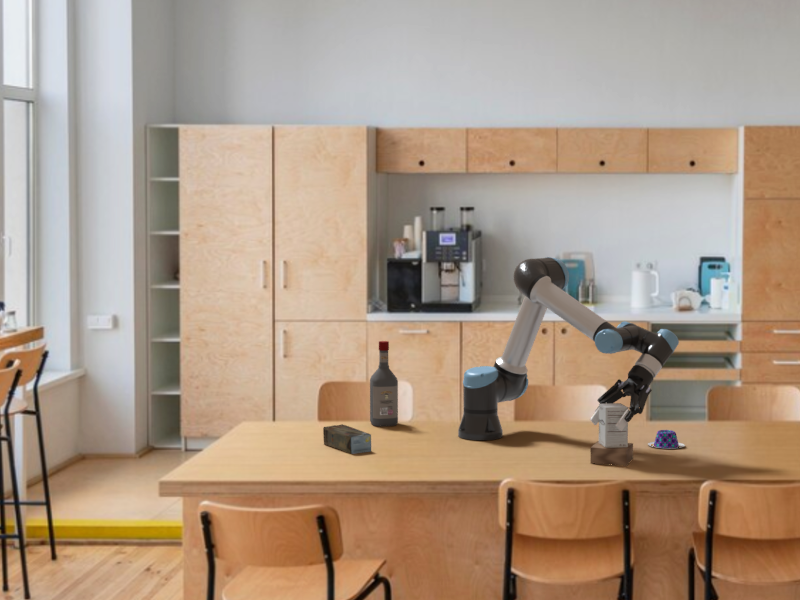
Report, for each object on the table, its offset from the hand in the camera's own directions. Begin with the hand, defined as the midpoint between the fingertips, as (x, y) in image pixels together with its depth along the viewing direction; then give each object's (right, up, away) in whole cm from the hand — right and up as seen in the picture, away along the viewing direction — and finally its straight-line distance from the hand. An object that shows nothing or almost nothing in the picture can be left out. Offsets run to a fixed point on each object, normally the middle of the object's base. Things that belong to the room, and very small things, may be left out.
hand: (605, 425), depth 378 cm
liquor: (-69, -7, +66) cm, 95 cm away
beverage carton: (-80, -10, +24) cm, 84 cm away
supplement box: (+3, -7, +2) cm, 7 cm away
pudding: (+24, -10, +26) cm, 37 cm away
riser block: (+2, -11, +2) cm, 12 cm away
